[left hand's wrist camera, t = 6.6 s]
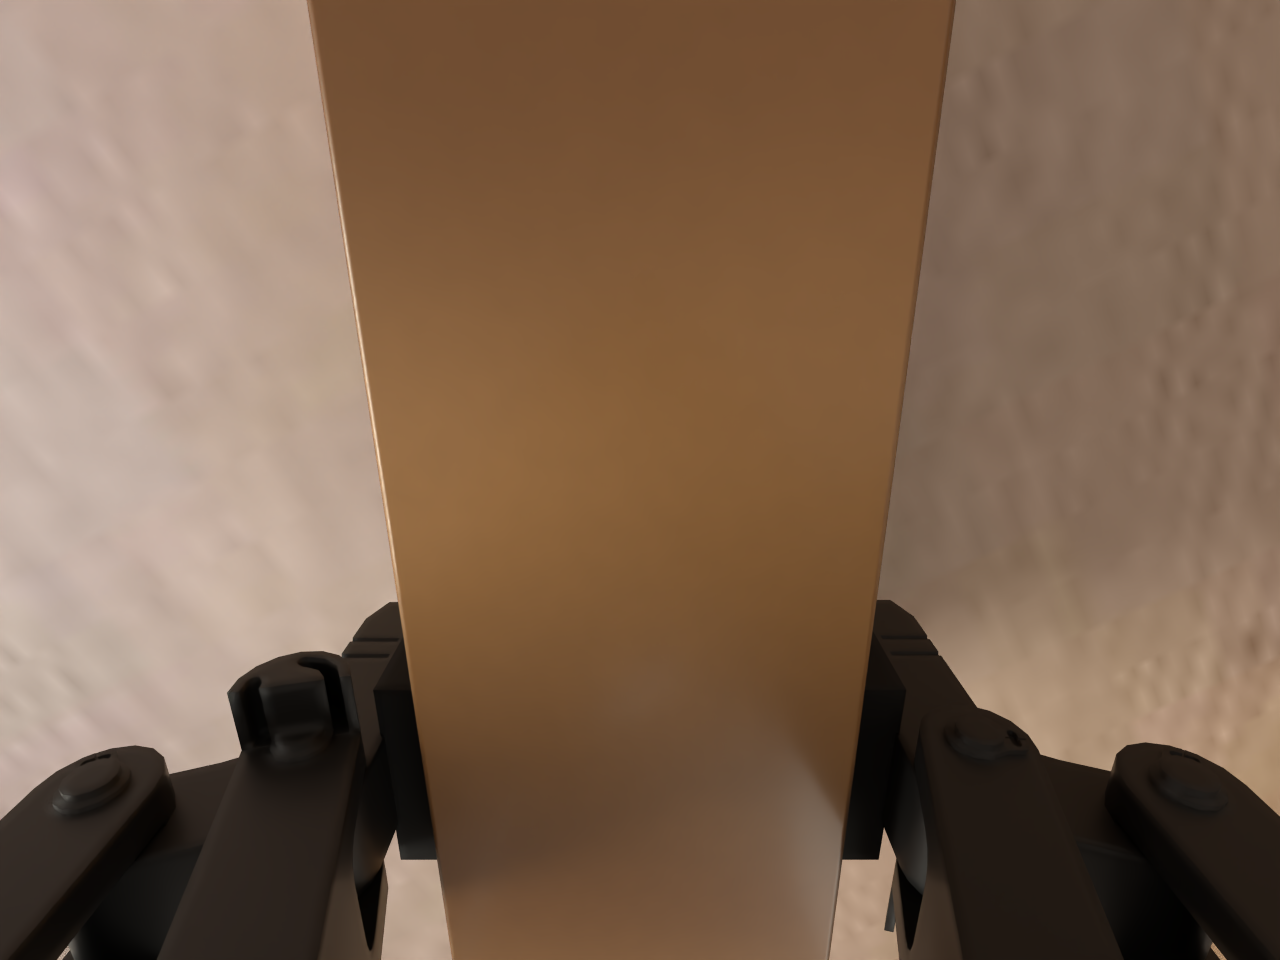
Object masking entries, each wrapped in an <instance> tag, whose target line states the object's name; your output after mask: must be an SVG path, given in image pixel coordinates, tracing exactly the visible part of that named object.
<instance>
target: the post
mask: <svg viewBox="0 0 1280 960" xmlns="http://www.w3.org/2000/svg"><path fill="white" fill-rule="evenodd" d="M307 4H308V11H309V17H310V24H311V31H312V37H313V44H314V50H315V57H316V64H317V70H318V77H319V83H320V90H321V97H322V103H323V110H324V116H325V123H326V130H327V136H328V143H329V149H330V156H331V162H332V169H333V176H334V182H335V189H336V195H337V202H338V209H339V215H340V222H341V228H342V235H343V242H344V248H345V255H346V261H347V268H348V275H349V281H350V288H351V294H352V301H353V308H354V314H355V321H356V327H357V334H358V340H359V347H360V354H361V360H362V367H363V373H364V380H365V387H366V393H367V400H368V406H369V413H370V420H371V426H372V433H373V439H374V446H375V453H376V459H377V466H378V472H379V479H380V486H381V492H382V499H383V505H384V512H385V519H386V525H387V532H388V538H389V545H390V551H391V558H392V565H393V571H394V578H395V584H396V591H397V598H398V604H399V611H400V617H401V624H402V631H403V637H404V644H405V650H406V657H407V664H408V670H409V677H410V683H411V690H412V697H413V703H414V710H415V716H416V723H417V729H418V736H419V743H420V749H421V756H422V762H423V769H424V776H425V782H426V789H427V795H428V802H429V809H430V815H431V822H432V828H433V835H434V842H435V848H436V855H437V861H438V868H439V875H440V881H441V888H442V894H443V901H444V907H445V914H446V921H447V927H448V934H449V940H450V947H451V954H452V960H829V956H830V948H831V941H832V933H833V925H834V918H835V910H836V903H837V895H838V888H839V880H840V873H841V865H842V858H843V850H844V842H845V835H846V827H847V820H848V812H849V805H850V797H851V790H852V782H853V774H854V767H855V759H856V752H857V744H858V737H859V729H860V722H861V714H862V706H863V699H864V691H865V684H866V676H867V669H868V661H869V654H870V646H871V639H872V631H873V623H874V616H875V608H876V601H877V593H878V586H879V578H880V571H881V563H882V555H883V548H884V540H885V533H886V525H887V518H888V510H889V503H890V495H891V488H892V480H893V472H894V465H895V457H896V450H897V442H898V435H899V427H900V420H901V412H902V404H903V397H904V389H905V382H906V374H907V367H908V359H909V352H910V344H911V336H912V329H913V321H914V314H915V306H916V299H917V291H918V284H919V276H920V269H921V261H922V253H923V246H924V238H925V231H926V223H927V216H928V208H929V201H930V193H931V185H932V178H933V170H934V163H935V155H936V148H937V140H938V133H939V125H940V117H941V110H942V102H943V95H944V87H945V80H946V72H947V65H948V57H949V50H950V42H951V34H952V27H953V19H954V12H955V4H956V0H307Z"/></svg>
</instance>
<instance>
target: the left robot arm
mask: <svg viewBox="0 0 1280 960" xmlns="http://www.w3.org/2000/svg"><path fill="white" fill-rule="evenodd" d="M227 694H228V698H229V702H230V706H231V710H232V714H233V718H234V722H235V726H236V730H237V733H238V737H239V741H240V745H241V749H242V752H241V754H240V756H239V758H236V759H232V760H229V761H225V762H222V763H218V764H213V765H209V766H204V767H200V768H195V769H191V770H186V771H182V772H177V773H173V774H169V772H168V769H167V766H166V763H165V759H164V757H163V756H162V755H161V754H159V753H158V752H157V751H156V750H155V749H154V748H148V747H141V746H127V747H120V748H112V749H108V750H105V751H102V752H99V753H96V754H92V755H89V756H87V757H84V758H82V759H80V760H78V761H76V762H74V763H72V764H70V765H68V766H66V767H64V768H62V769H60V770H59V771H57V772H55V773H54V774H53V775H51V776H50V777H49V778H47V779H46V780H45V781H44V782H42V783H41V784H40V785H38V786H37V787H36V788H34V789H33V790H32V791H31V792H30V793H29V794H28V795H27V796H26V797H25V798H24V799H23V800H22V801H21V802H19V803H18V804H17V805H16V806H15V807H14V808H13V809H12V810H11V811H10V812H9V813H8V814H7V815H6V816H5V817H4V818H2V819H1V820H0V960H57V959H58V957H59V956H60V955H61V953H62V952H63V951H64V950H65V948H66V947H67V946H69V949H70V951H69V952H68V953H67V955H66V956H65V957H64V958H63V960H381V953H382V943H383V934H384V924H385V914H386V904H387V895H388V883H387V876H386V870H385V864H384V858H385V855H386V853H387V850H388V848H389V845H390V843H391V840H392V838H393V835H394V833H395V830H396V832H397V838H398V844H399V851H400V857H401V860H437V855H436V848H435V842H434V835H433V828H432V822H431V815H430V809H429V802H428V795H427V789H426V782H425V776H424V769H423V762H422V756H421V749H420V743H419V736H418V729H417V723H416V716H415V710H414V703H413V697H412V690H411V683H410V677H409V670H408V664H407V657H406V650H405V644H404V637H403V631H402V624H401V617H400V611H399V604H398V602H389V603H388V604H386V605H385V606H384V607H382V608H381V609H379V610H378V611H376V612H375V613H374V614H372V615H371V616H369V617H368V618H366V620H365V621H364V622H363V624H362V625H361V627H360V628H359V630H358V631H357V633H356V634H355V635H354V637H353V642H350V643H349V644H348V646H347V647H346V648H345V650H344V651H343V653H342V657H340V656H339V655H336V654H332V653H328V652H324V651H313V652H299V653H294V654H290V655H285V656H281V657H278V658H275V659H273V660H271V661H268V662H266V663H263V664H261V665H259V666H256V667H255V668H254V669H252V670H251V671H249V672H248V673H246V674H245V675H243V676H242V677H240V678H239V679H238V680H237V681H236V683H235V684H234V685H233V686H232V687H231V689H230V690H229V691H228V692H227ZM884 828H885V831H886V833H887V836H888V838H889V841H890V843H891V846H892V848H893V850H894V853H895V855H896V858H897V859H896V864H895V870H894V875H893V881H892V887H891V892H890V898H889V904H888V909H887V915H886V922H885V929H884V930H886V931H890V932H894V926H895V922H896V932H897V942H898V951H899V960H1220V959H1219V958H1218V956H1217V955H1216V954H1215V952H1214V951H1213V950H1212V949H1211V945H1212V942H1213V943H1214V944H1215V945H1216V947H1217V948H1218V949H1219V950H1220V952H1221V953H1222V954H1223V955H1224V957H1225V958H1226V959H1227V960H1280V816H1279V815H1277V814H1276V813H1275V812H1274V811H1273V810H1272V809H1271V808H1270V807H1269V806H1268V805H1267V804H1266V803H1265V802H1264V801H1263V800H1261V799H1260V798H1259V797H1258V796H1257V795H1256V794H1255V793H1254V792H1253V791H1252V790H1251V789H1250V788H1249V787H1248V786H1246V785H1245V784H1244V783H1243V782H1241V781H1240V780H1239V779H1237V778H1236V777H1235V776H1233V775H1232V774H1231V773H1229V772H1228V771H1227V770H1225V769H1224V768H1222V767H1220V766H1218V765H1216V764H1214V763H1212V762H1211V761H1209V760H1207V759H1205V758H1203V757H1201V756H1199V755H1197V754H1194V753H1191V752H1189V751H1186V750H1182V749H1179V748H1175V747H1172V746H1169V745H1161V744H1153V743H1139V744H1133V745H1127V746H1126V747H1124V748H1123V749H1122V750H1121V751H1120V752H1118V753H1117V754H1116V757H1115V761H1114V764H1113V767H1112V770H1111V771H1107V770H1102V769H1098V768H1093V767H1089V766H1084V765H1080V764H1075V763H1071V762H1066V761H1062V760H1058V759H1054V758H1051V757H1047V756H1044V755H1040V753H1039V750H1038V749H1037V747H1036V746H1035V744H1034V743H1033V741H1032V740H1031V738H1030V737H1029V736H1028V734H1026V733H1025V732H1024V731H1023V730H1021V729H1020V728H1019V727H1018V726H1016V725H1015V724H1014V723H1012V722H1011V721H1009V720H1007V719H1005V718H1003V717H1001V716H999V715H997V714H995V713H993V712H991V711H988V710H984V709H980V708H977V707H976V705H975V704H974V702H973V701H972V699H971V698H970V697H969V695H968V694H967V692H966V691H965V689H964V688H963V687H962V685H961V684H960V682H959V681H958V679H957V678H956V676H955V675H954V674H953V672H952V671H951V669H950V668H949V666H948V665H947V664H946V662H945V661H944V659H943V658H942V656H939V655H938V651H937V649H936V648H935V646H934V645H933V643H932V642H931V641H930V639H927V635H926V633H925V632H924V630H923V629H922V628H921V626H920V625H919V623H918V622H917V620H916V619H915V618H914V616H912V615H911V614H909V613H908V612H907V611H905V610H904V609H902V608H901V607H899V606H898V605H897V604H895V603H894V602H892V601H891V600H877V601H876V608H875V616H874V623H873V631H872V639H871V646H870V654H869V661H868V669H867V676H866V684H865V691H864V699H863V706H862V714H861V722H860V729H859V737H858V744H857V752H856V759H855V767H854V774H853V782H852V790H851V797H850V805H849V812H848V820H847V827H846V835H845V842H844V850H843V858H842V860H879V854H880V848H881V841H882V835H883V829H884Z"/></svg>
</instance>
